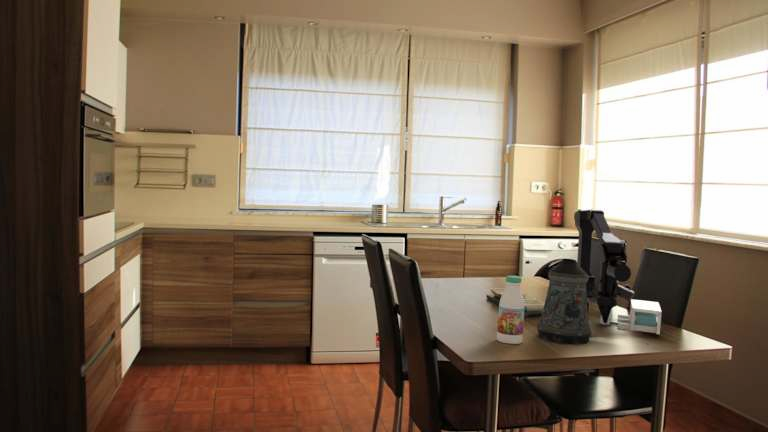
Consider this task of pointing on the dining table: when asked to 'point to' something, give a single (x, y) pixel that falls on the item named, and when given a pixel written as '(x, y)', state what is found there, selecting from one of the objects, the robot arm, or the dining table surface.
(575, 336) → the beer stein
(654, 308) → the shelf
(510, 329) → the milk bottle
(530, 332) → the dining table surface
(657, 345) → the dining table surface
